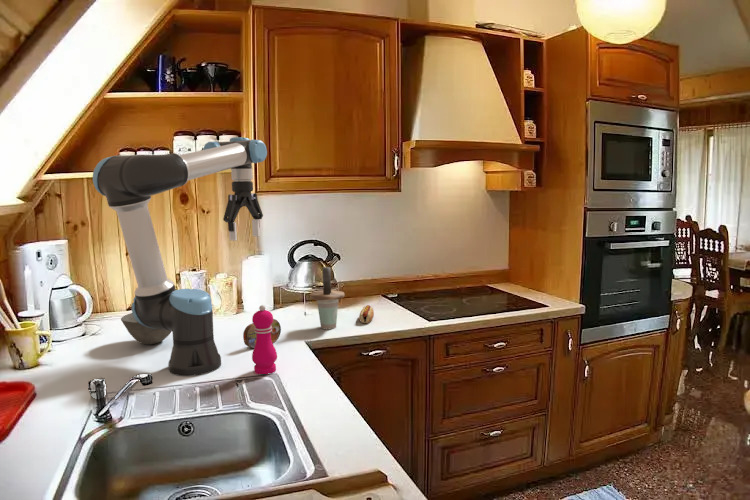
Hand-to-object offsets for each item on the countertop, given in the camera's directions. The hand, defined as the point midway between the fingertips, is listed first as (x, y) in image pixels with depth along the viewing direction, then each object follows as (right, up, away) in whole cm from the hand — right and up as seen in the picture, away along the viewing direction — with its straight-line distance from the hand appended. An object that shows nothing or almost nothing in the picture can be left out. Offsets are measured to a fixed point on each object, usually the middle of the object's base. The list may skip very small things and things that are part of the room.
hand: (245, 238), depth 197 cm
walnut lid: (+30, -22, +4) cm, 38 cm away
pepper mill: (+16, -40, -40) cm, 59 cm away
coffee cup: (+31, -34, +6) cm, 46 cm away
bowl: (-30, -37, -10) cm, 49 cm away
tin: (+10, -37, -14) cm, 41 cm away
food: (+45, -33, +15) cm, 58 cm away
